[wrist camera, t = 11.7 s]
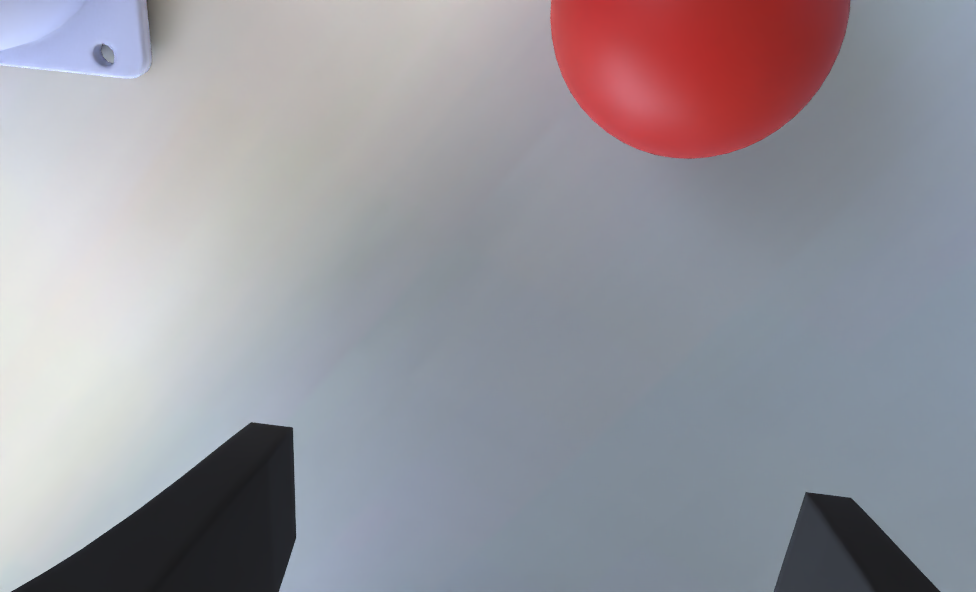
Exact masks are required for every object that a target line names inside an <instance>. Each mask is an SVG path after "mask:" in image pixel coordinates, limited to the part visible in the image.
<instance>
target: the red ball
mask: <svg viewBox="0 0 976 592" xmlns="http://www.w3.org/2000/svg"><path fill="white" fill-rule="evenodd" d="M849 12H850V0H551V17H550V19H551V32H552V40H553V45H554V50H555V55H556V59H557V62H558V65H559V68H560V70H561V73H562V76H563V78H564V80H565V82H566V84H567V86H568V88H569V90H570V92H571V94H572V95H573V96H574V98H575V99H576V101H577V102H578V104H579V105H580V107H581V108H582V109H583V110H584V111H585V112H586V113H587V114H588V116H589V117H590V118H591V119H592V120H593V121H594V122H596V123H597V124H598V125H599V126H600V127H601V128H603V129H604V130H605V131H606V132H608V133H609V134H611V135H612V136H614V137H615V138H617V139H619V140H620V141H622V142H623V143H626V144H628V145H630V146H632V147H634V148H636V149H639V150H642V151H645V152H648V153H651V154H654V155H659V156H665V157H671V158H688V159H692V158H705V157H712V156H717V155H722V154H727V153H730V152H733V151H736V150H739V149H742V148H745V147H747V146H749V145H752V144H754V143H756V142H758V141H760V140H762V139H764V138H766V137H767V136H769V135H770V134H772V133H774V132H775V131H777V130H778V129H780V128H781V127H782V126H784V125H785V124H786V123H787V122H789V121H790V120H791V119H792V118H794V117H795V116H796V115H797V114H798V113H799V112H800V111H801V110H802V109H803V108H804V107H805V106H806V105H807V104H808V102H809V101H810V100H811V99H812V97H813V96H814V95H815V94H816V92H817V91H818V90H819V88H820V87H821V85H822V84H823V82H824V80H825V79H826V77H827V76H828V74H829V72H830V70H831V68H832V66H833V64H834V62H835V60H836V58H837V56H838V54H839V51H840V48H841V45H842V42H843V39H844V36H845V33H846V28H847V23H848V18H849Z"/></svg>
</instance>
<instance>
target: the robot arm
mask: <svg viewBox="0 0 976 592" xmlns="http://www.w3.org/2000/svg"><path fill="white" fill-rule="evenodd" d="M103 44H105V45H108V46H109V47H110V48H111V49H112V50H113V53H114V56H115V59H114V63H110V62H108V61H107V60H106V59H105V58H104V57H103V55H102V52H101V49H102V45H103ZM151 63H152V51H151V41H150V31H149V21H148V11H147V1H146V0H0V65H4V66H14V67H23V68H33V69H42V70H52V71H61V72H70V73H80V74H89V75H99V76H108V77H118V78H127V79H129V78H136V77H138V76H141V75H143V74H144V73H146V72H147V71H148V70H149V68H150V66H151ZM295 539H296V518H295V484H294V450H293V428H292V427H284V426H276V425H268V424H260V423H253V422H251V423H250V424H248V425H247V426H246V427H244V428H243V429H242V430H240V431H239V432H238V433H236V434H235V435H234V436H232V437H231V438H230V439H229V440H227V441H226V442H225V443H224V444H222V445H221V446H220V447H219V448H217V449H216V450H215V451H214V452H212V453H211V454H210V455H209V456H207V457H206V458H205V459H204V460H202V461H201V462H200V463H198V464H197V465H196V466H195V467H193V468H192V469H191V470H190V471H188V472H187V473H186V474H185V475H183V476H182V477H181V478H179V479H178V480H177V481H176V482H174V483H173V484H172V485H170V486H169V487H168V488H166V489H165V490H164V491H162V492H161V493H160V494H158V495H157V496H156V497H154V498H153V499H152V500H150V501H149V502H148V503H147V504H145V505H144V506H143V507H141V508H140V509H139V510H137V511H136V512H134V513H133V514H132V515H130V516H129V517H127V518H126V519H125V520H123V521H122V522H120V523H119V524H117V525H116V526H114V527H113V528H112V529H110V530H109V531H107V532H106V533H104V534H103V535H101V536H100V537H99V538H97V539H96V540H94V541H93V542H91V543H90V544H88V545H87V546H86V547H84V548H83V549H81V550H80V551H78V552H76V553H75V554H73V555H72V556H70V557H69V558H67V559H66V560H64V561H62V562H61V563H59V564H57V565H56V566H54V567H53V568H51V569H49V570H48V571H46V572H44V573H43V574H41V575H39V576H38V577H36V578H34V579H32V580H31V581H29V582H27V583H25V584H24V585H22V586H20V587H19V588H17V589H15V590H13V591H12V592H279V589H280V586H281V583H282V580H283V577H284V574H285V571H286V568H287V565H288V562H289V558H290V555H291V552H292V549H293V546H294V543H295ZM774 592H940V591H939V590H938V589H937V588H936V587H935V586H934V585H933V583H932V582H931V581H930V580H929V579H928V578H927V577H926V576H925V575H924V574H923V573H922V572H921V571H920V570H919V569H918V568H917V567H916V566H915V565H914V563H913V562H912V561H911V560H910V559H909V558H908V557H907V556H906V555H905V554H904V553H903V552H902V551H901V550H900V549H899V547H898V546H897V545H896V544H895V543H894V542H893V541H892V540H891V539H890V538H889V537H888V536H887V535H886V534H885V533H884V531H883V530H882V529H881V528H880V527H879V526H878V525H877V524H876V523H875V522H874V521H873V520H872V519H871V518H870V517H869V516H868V515H867V514H866V512H865V511H864V510H863V509H862V508H861V507H860V506H859V505H858V504H857V503H856V502H855V501H854V500H853V499H851V498H848V497H840V496H832V495H824V494H816V493H808V492H806V493H805V496H804V499H803V503H802V506H801V509H800V512H799V515H798V518H797V521H796V524H795V527H794V530H793V533H792V537H791V540H790V543H789V546H788V549H787V552H786V555H785V558H784V561H783V564H782V567H781V571H780V574H779V577H778V580H777V583H776V586H775V589H774Z"/></svg>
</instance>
